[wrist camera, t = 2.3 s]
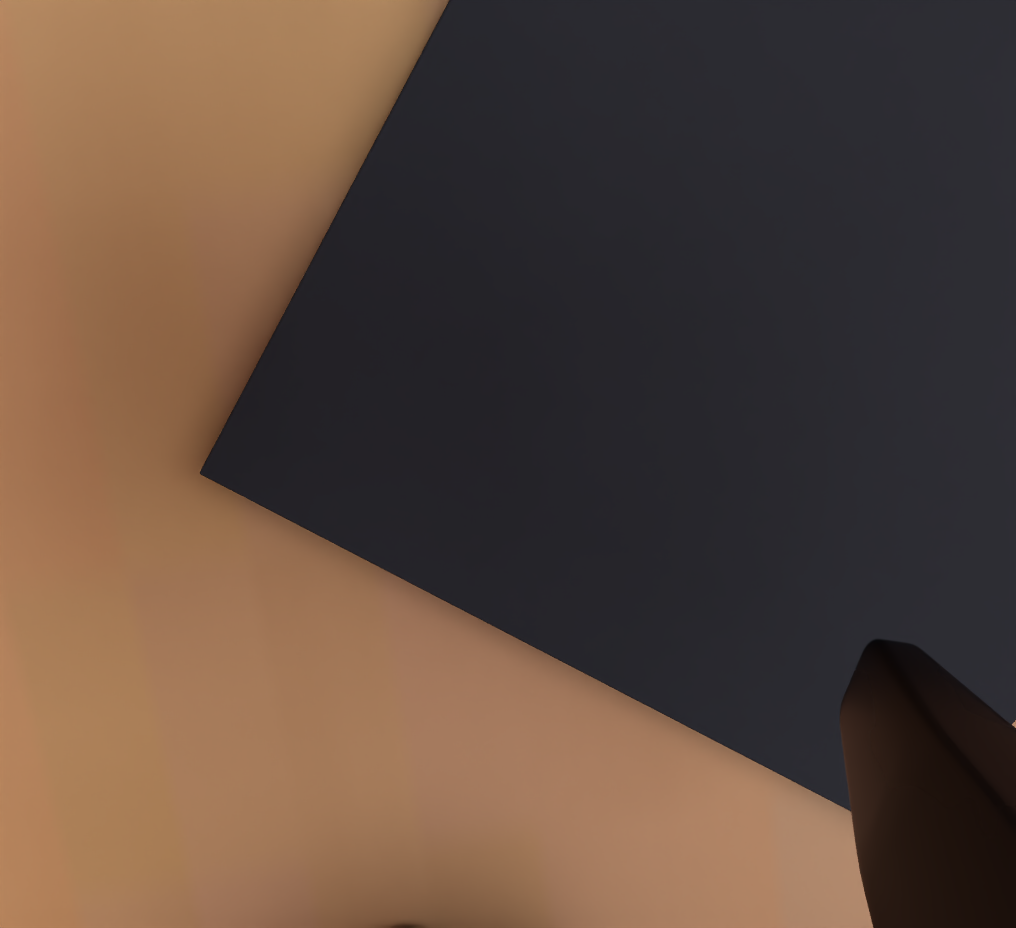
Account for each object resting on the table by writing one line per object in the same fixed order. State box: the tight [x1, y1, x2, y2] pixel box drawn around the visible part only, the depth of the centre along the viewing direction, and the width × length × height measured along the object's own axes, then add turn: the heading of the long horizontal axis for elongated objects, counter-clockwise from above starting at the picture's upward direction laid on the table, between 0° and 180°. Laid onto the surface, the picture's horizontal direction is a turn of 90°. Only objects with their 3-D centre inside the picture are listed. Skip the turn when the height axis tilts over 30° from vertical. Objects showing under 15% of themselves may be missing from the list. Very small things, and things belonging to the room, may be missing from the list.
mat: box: [200, 0, 1016, 811], centre depth 20 cm, size 18×20×1 cm
